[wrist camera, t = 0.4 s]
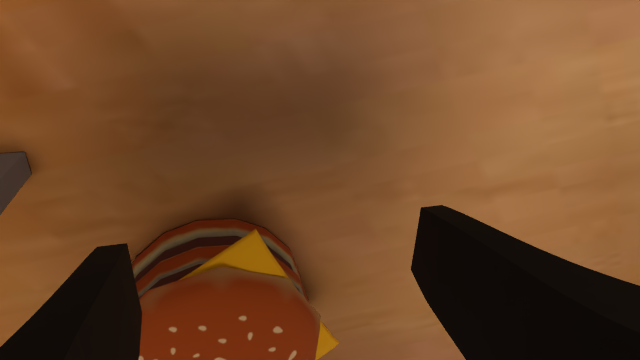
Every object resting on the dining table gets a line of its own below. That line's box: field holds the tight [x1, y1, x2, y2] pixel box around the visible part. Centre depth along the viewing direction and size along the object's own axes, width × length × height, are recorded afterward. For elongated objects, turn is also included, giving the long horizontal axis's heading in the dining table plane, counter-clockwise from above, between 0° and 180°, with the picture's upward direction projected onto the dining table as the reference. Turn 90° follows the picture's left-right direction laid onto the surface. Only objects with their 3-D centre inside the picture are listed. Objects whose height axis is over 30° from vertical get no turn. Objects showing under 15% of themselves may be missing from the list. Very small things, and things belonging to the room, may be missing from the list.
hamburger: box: [132, 219, 339, 360], centre depth 20 cm, size 9×10×7 cm
